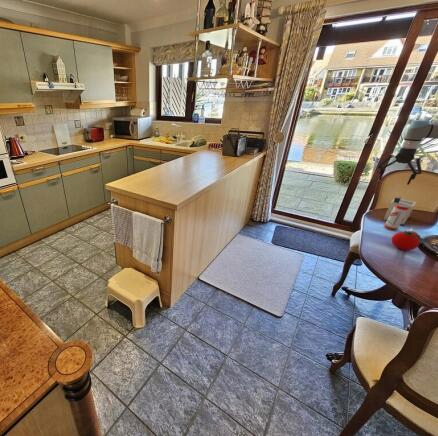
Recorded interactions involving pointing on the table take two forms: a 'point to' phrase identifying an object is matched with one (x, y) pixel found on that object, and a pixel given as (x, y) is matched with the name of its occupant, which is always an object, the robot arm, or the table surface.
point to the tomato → (405, 240)
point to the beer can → (396, 217)
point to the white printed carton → (405, 202)
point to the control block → (420, 239)
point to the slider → (397, 199)
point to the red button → (413, 232)
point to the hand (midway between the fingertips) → (393, 181)
